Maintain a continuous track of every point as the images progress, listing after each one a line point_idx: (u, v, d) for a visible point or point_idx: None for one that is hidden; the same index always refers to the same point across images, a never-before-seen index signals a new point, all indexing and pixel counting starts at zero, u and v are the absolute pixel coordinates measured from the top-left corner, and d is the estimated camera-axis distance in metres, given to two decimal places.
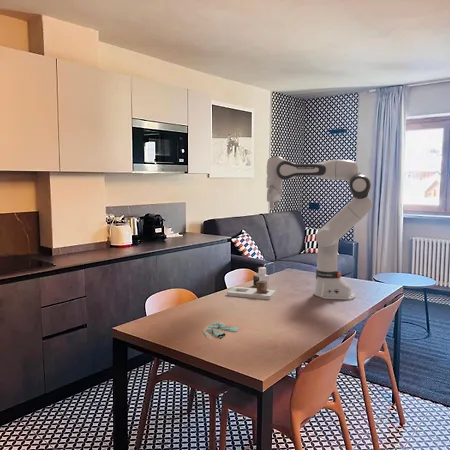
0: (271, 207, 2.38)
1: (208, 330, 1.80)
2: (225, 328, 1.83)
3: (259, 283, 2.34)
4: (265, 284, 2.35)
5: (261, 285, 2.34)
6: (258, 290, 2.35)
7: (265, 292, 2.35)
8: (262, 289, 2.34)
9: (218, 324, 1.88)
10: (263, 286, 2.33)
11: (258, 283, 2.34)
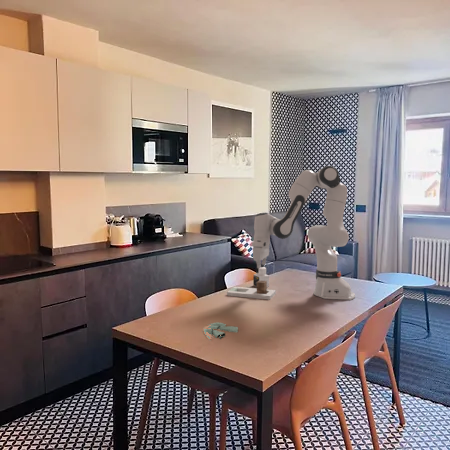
0: None
1: (208, 330, 1.80)
2: (225, 328, 1.83)
3: (259, 283, 2.34)
4: (265, 284, 2.35)
5: (261, 285, 2.34)
6: (258, 290, 2.35)
7: (265, 292, 2.35)
8: (262, 289, 2.34)
9: (218, 324, 1.88)
10: (263, 286, 2.33)
11: (258, 283, 2.34)
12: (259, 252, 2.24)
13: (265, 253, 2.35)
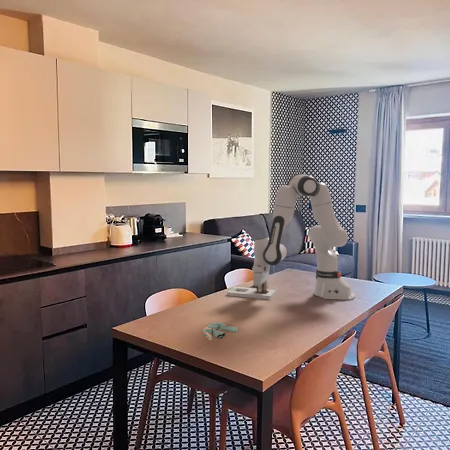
0: None
1: (208, 330, 1.80)
2: (225, 328, 1.83)
3: None
4: (265, 284, 2.35)
5: None
6: None
7: (265, 292, 2.35)
8: (262, 289, 2.34)
9: (218, 324, 1.88)
10: (263, 286, 2.33)
11: None
12: (259, 277, 2.26)
13: (265, 277, 2.37)
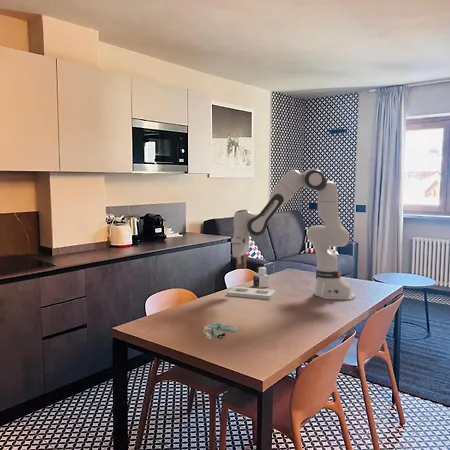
0: None
1: (208, 330, 1.80)
2: (225, 328, 1.83)
3: None
4: (244, 256, 2.38)
5: (241, 258, 2.36)
6: None
7: (245, 264, 2.38)
8: (242, 261, 2.36)
9: (218, 324, 1.88)
10: (242, 258, 2.36)
11: None
12: (238, 248, 2.28)
13: (245, 249, 2.39)
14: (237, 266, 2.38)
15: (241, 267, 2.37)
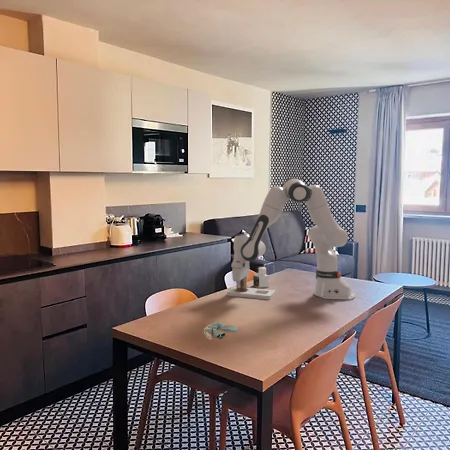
0: None
1: (208, 330, 1.80)
2: (225, 328, 1.83)
3: None
4: (245, 282, 2.39)
5: (241, 284, 2.38)
6: (238, 288, 2.39)
7: (245, 290, 2.40)
8: (242, 287, 2.38)
9: (218, 324, 1.88)
10: (242, 284, 2.38)
11: None
12: (238, 273, 2.30)
13: (245, 273, 2.41)
14: None
15: None
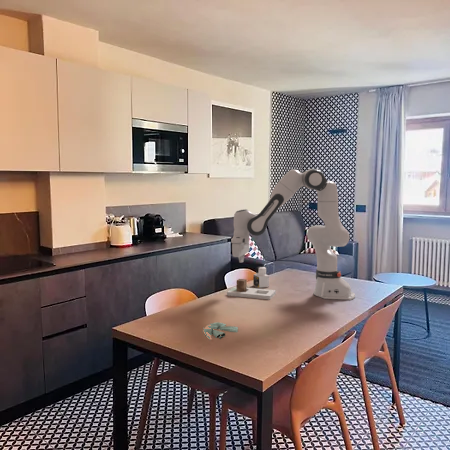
0: None
1: (208, 330, 1.80)
2: (225, 328, 1.83)
3: (239, 281, 2.38)
4: (245, 282, 2.39)
5: (241, 284, 2.38)
6: (238, 288, 2.39)
7: (245, 290, 2.40)
8: (242, 287, 2.38)
9: (218, 324, 1.88)
10: (242, 284, 2.38)
11: (238, 281, 2.38)
12: (238, 248, 2.28)
13: (245, 249, 2.39)
14: None
15: None
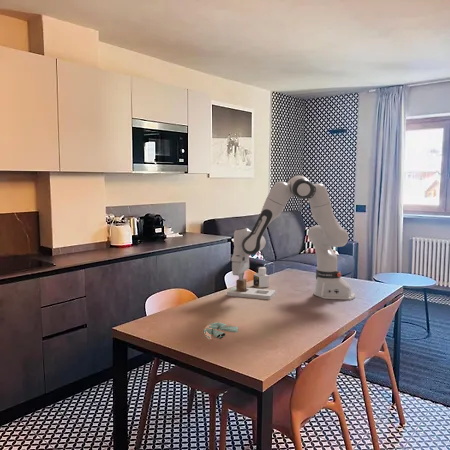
0: None
1: (208, 330, 1.80)
2: (225, 328, 1.83)
3: (238, 281, 2.38)
4: (244, 282, 2.39)
5: (241, 284, 2.38)
6: (238, 288, 2.39)
7: (245, 290, 2.40)
8: (242, 287, 2.38)
9: (218, 324, 1.88)
10: (242, 284, 2.38)
11: (237, 281, 2.39)
12: (238, 267, 2.29)
13: (245, 267, 2.40)
14: None
15: None
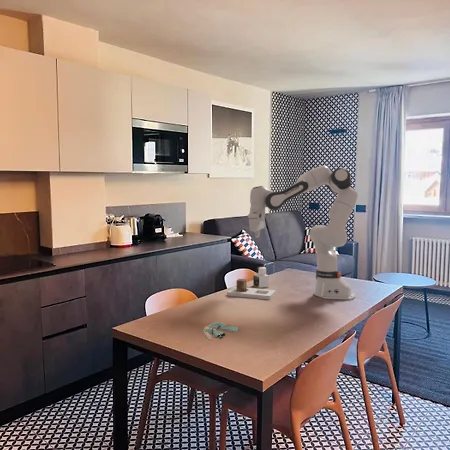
0: None
1: (208, 330, 1.80)
2: (225, 328, 1.83)
3: (239, 281, 2.38)
4: (245, 282, 2.39)
5: (241, 284, 2.38)
6: (238, 288, 2.39)
7: (245, 290, 2.40)
8: (242, 287, 2.38)
9: (218, 324, 1.88)
10: (242, 284, 2.38)
11: (238, 281, 2.38)
12: (255, 223, 2.36)
13: (261, 225, 2.47)
14: None
15: None
